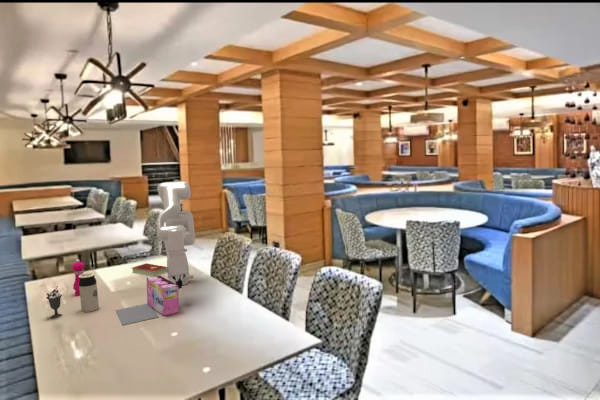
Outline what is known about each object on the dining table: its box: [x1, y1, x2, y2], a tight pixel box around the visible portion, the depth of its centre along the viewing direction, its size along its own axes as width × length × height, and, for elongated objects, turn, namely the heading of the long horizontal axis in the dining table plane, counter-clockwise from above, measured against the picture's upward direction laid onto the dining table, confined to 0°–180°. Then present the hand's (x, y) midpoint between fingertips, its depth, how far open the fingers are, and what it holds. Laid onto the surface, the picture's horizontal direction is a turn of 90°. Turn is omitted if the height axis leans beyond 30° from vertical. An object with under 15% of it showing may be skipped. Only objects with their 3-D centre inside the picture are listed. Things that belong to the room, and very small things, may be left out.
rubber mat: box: [115, 303, 159, 326], centre depth 213 cm, size 16×22×1 cm
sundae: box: [46, 287, 63, 319], centre depth 213 cm, size 7×7×15 cm
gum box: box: [146, 275, 180, 316], centre depth 219 cm, size 24×8×14 cm, turn 39°
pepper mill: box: [72, 259, 85, 297], centre depth 245 cm, size 7×7×20 cm
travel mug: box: [79, 272, 100, 313], centre depth 220 cm, size 8×8×18 cm
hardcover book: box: [131, 263, 167, 278], centre depth 284 cm, size 12×21×4 cm, turn 58°
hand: (179, 287), depth 222 cm, fingers closed
